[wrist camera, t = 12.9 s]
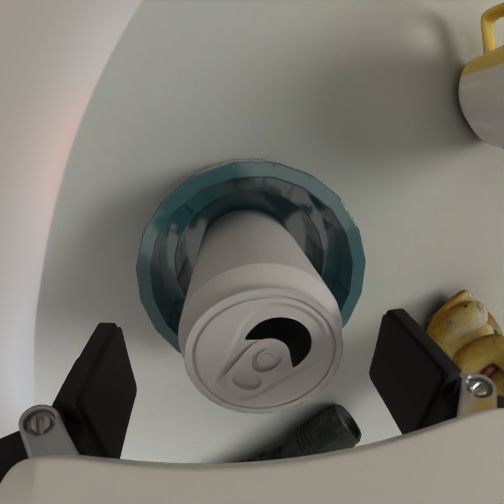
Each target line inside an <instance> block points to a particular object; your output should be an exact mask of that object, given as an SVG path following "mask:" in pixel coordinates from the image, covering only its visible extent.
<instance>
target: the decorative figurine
mask: <svg viewBox="0 0 504 504" xmlns="http://www.w3.org/2000/svg"><path fill="white" fill-rule="evenodd" d="M426 323H427V325H428V328H427V331H426V333H427V334H428V335H429V336H430V337H431V338H432V339H433V340H434V341H435V342H436V343H437V344H438V345H439V346H440V347H441V348H442V349H443V351H444V352H445V353H446V354H447V355H448V356H449V357H450V358H451V359H452V360H453V361H454V362H455V364H456V365H457V366H458V367H459V368H460V369H461V370H462V371H461V374H460V377H461V378H462V379H463V378H464V377H465V376H466V375H468V374H472V373H476V374H482V375H485V376H486V377H488V378H490V379H491V380H492V381H493V382H494V384H495V385H496V389H497V395H500V396H504V335H503V333H502V331H501V329H500V327H499V325H498V324H497V323H496V321H495V320H494V318H493V316H492V315H491V314H490V313H489V312H488V311H487V309H486V307H485V306H484V305H483V304H482V303H480V302H478V301H474V300H473V297H472V295H471V294H470V293H469V292H468V291H467V290H462V291H460V292H459V293H457V294H456V295H455V296H453V297H452V298H451V299H449V300H448V301H447V302H446V303H445V304H444V305H443V306H442V307H441V308H440V309H439V310H438V311H437V312H435V313H434V314H433V315H432V316H430V317H429V318H428V319H426Z"/></svg>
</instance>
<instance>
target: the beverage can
mask: <svg viewBox="0 0 504 504" xmlns="http://www.w3.org/2000/svg"><path fill="white" fill-rule="evenodd" d="M178 340H179V346H180V351H181V353H182V356H183V358H184V361H185V366H186V370H187V373H188V375H189V377H190V379H191V381H192V382H193V384H194V385H195V387H196V388H197V389H198V390H199V391H200V392H201V393H202V394H203V395H204V396H205V397H207V398H208V399H209V400H211V401H212V402H214V403H216V404H218V405H220V406H222V407H225V408H227V409H230V410H234V411H238V412H243V413H257V414H260V413H272V412H278V411H282V410H285V409H289V408H292V407H294V406H297V405H299V404H301V403H303V402H305V401H307V400H308V399H310V398H311V397H313V396H314V395H316V394H317V393H318V392H319V391H320V390H322V389H323V388H324V387H325V386H326V385H327V383H328V382H329V381H330V380H331V378H332V377H333V375H334V374H335V372H336V370H337V368H338V366H339V364H340V360H341V357H342V351H343V339H342V318H341V314H340V311H339V308H338V304H337V302H336V300H335V298H334V296H333V295H332V293H331V292H330V290H329V289H328V287H327V286H326V284H325V283H324V281H323V280H322V278H321V277H320V276H319V274H318V273H317V271H316V270H315V268H314V267H313V265H312V264H311V262H310V261H309V259H308V258H307V257H306V255H305V254H304V252H303V251H302V249H301V248H300V246H299V245H298V244H297V242H296V241H295V239H294V238H293V236H292V235H291V234H290V232H289V231H288V229H287V228H286V227H285V225H284V224H283V223H282V222H281V221H280V220H278V219H277V218H276V217H274V216H272V215H271V214H269V213H266V212H264V211H260V210H255V209H241V210H236V211H232V212H230V213H227V214H225V215H223V216H221V217H220V218H219V219H217V220H216V221H215V222H214V223H213V224H212V225H211V226H210V227H209V228H208V230H207V231H206V233H205V235H204V237H203V239H202V242H201V245H200V248H199V252H198V255H197V259H196V262H195V266H194V270H193V273H192V277H191V281H190V284H189V288H188V292H187V295H186V299H185V303H184V307H183V311H182V314H181V318H180V323H179V330H178Z"/></svg>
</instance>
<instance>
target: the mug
mask: <svg viewBox="0 0 504 504" xmlns="http://www.w3.org/2000/svg"><path fill="white" fill-rule="evenodd" d="M501 17H504V3H501V4H499V5H496V6H494V7H492V8H490V9H488V10H487V11H485V12H484V13H483V15H482V16H481V31H482V41H483V55H482V56H480V57H478V58H476V59H474V60H472V61H470V62H469V63H468V64H467V65H466V66H465V68H464V69H463V71H462V74H461V77H460V82H459V90H458V95H459V102H460V107H461V110H462V112H463V114H464V117H465V118H466V120H467V122H468V123H469V125H470V126H471V128H472V129H473V131H474V132H475V133H476V135H477V136H478V137H479V138H480V139H482V140H483V141H484V142H486V143H488V144H490V145H493V146H497V147H500V148H503V149H504V45H503V46H501V47H499V48H497V49H496V48H495V41H494V33H493V24H494V22H495V21H496V20H498V19H499V18H501Z"/></svg>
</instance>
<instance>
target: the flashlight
mask: <svg viewBox="0 0 504 504" xmlns="http://www.w3.org/2000/svg"><path fill="white" fill-rule="evenodd" d="M360 438H361V432H360V429H359V427H358V425H357V424H356V422H355V421H354V419H353V418H352V416H351V415H350V414H349V413H348V412H347V410H345V409H344V408H343V407H342V406H340V405H335V406H334V407H333V408H329V409H327V410H326V411H324V412H323V413H321V414H320V415H318V416H317V417H315V418H314V419H312V420H311V421H309V422H307V423H306V424H304V425H303V426H301V427H300V428H298V429H296V430H295V431H294V433H293V434H292V435H291V436H290V437H289V438H288V439H287V440H285V442H284V444H283V445H281V446H279V447H278V448H276V449H273V450H272V451H270V452H268V453H262V454H260V455H259V456H257V457H256V459H254V460H253V459H250V460H248V461H246V462H255V461H267V460H277V459H286V458H294V457H301V456H308V455H315V454H321V453H327V452H332V451H337V450H342V449H347V448H352V447H354V446H355V444H357V443H358V442H359V441H360Z"/></svg>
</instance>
